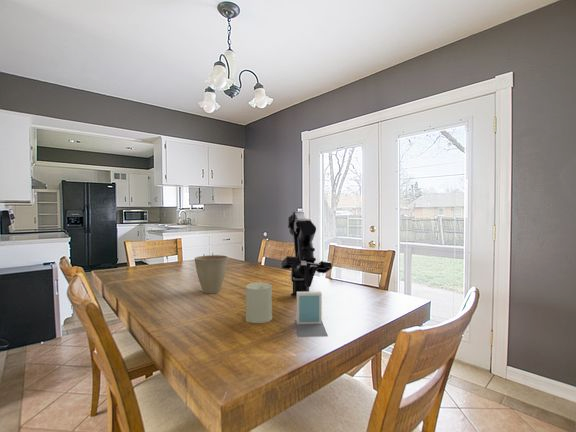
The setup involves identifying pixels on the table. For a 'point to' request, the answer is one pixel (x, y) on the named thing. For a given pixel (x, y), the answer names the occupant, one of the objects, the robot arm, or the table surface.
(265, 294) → the can
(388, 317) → the table surface
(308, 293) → the tile
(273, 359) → the table surface
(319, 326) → the mat
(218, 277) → the plant pot
